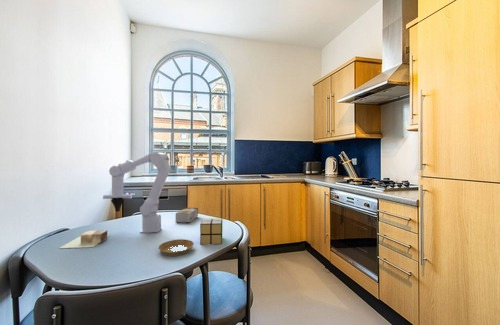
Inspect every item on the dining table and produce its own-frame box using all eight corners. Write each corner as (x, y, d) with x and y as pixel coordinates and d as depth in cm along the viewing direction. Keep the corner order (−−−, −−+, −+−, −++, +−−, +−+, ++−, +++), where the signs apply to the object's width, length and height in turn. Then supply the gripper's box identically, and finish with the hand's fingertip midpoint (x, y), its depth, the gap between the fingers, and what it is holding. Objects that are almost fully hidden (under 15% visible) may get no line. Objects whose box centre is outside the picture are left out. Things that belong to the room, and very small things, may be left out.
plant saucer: (171, 261, 91) (171, 255, 91) (151, 252, 100) (151, 246, 100) (200, 249, 103) (200, 244, 103) (180, 242, 111) (180, 237, 111)
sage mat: (109, 235, 120) (109, 234, 120) (93, 247, 104) (93, 246, 104) (80, 236, 118) (80, 235, 118) (59, 248, 102) (59, 248, 102)
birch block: (107, 230, 115) (87, 230, 114) (101, 234, 109) (80, 234, 108) (107, 238, 115) (87, 238, 114) (101, 242, 109) (80, 243, 108)
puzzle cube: (202, 237, 118) (202, 218, 117) (222, 237, 118) (222, 218, 118) (200, 245, 108) (200, 223, 107) (221, 244, 108) (221, 223, 108)
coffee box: (175, 212, 144) (185, 207, 160) (175, 222, 144) (185, 216, 160) (189, 213, 143) (198, 207, 159) (189, 223, 143) (198, 216, 159)
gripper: (100, 188, 124) (100, 213, 124) (128, 188, 126) (128, 212, 126) (106, 186, 131) (106, 210, 131) (133, 186, 133) (133, 209, 133)
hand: (117, 211), depth 129 cm, fingers closed
